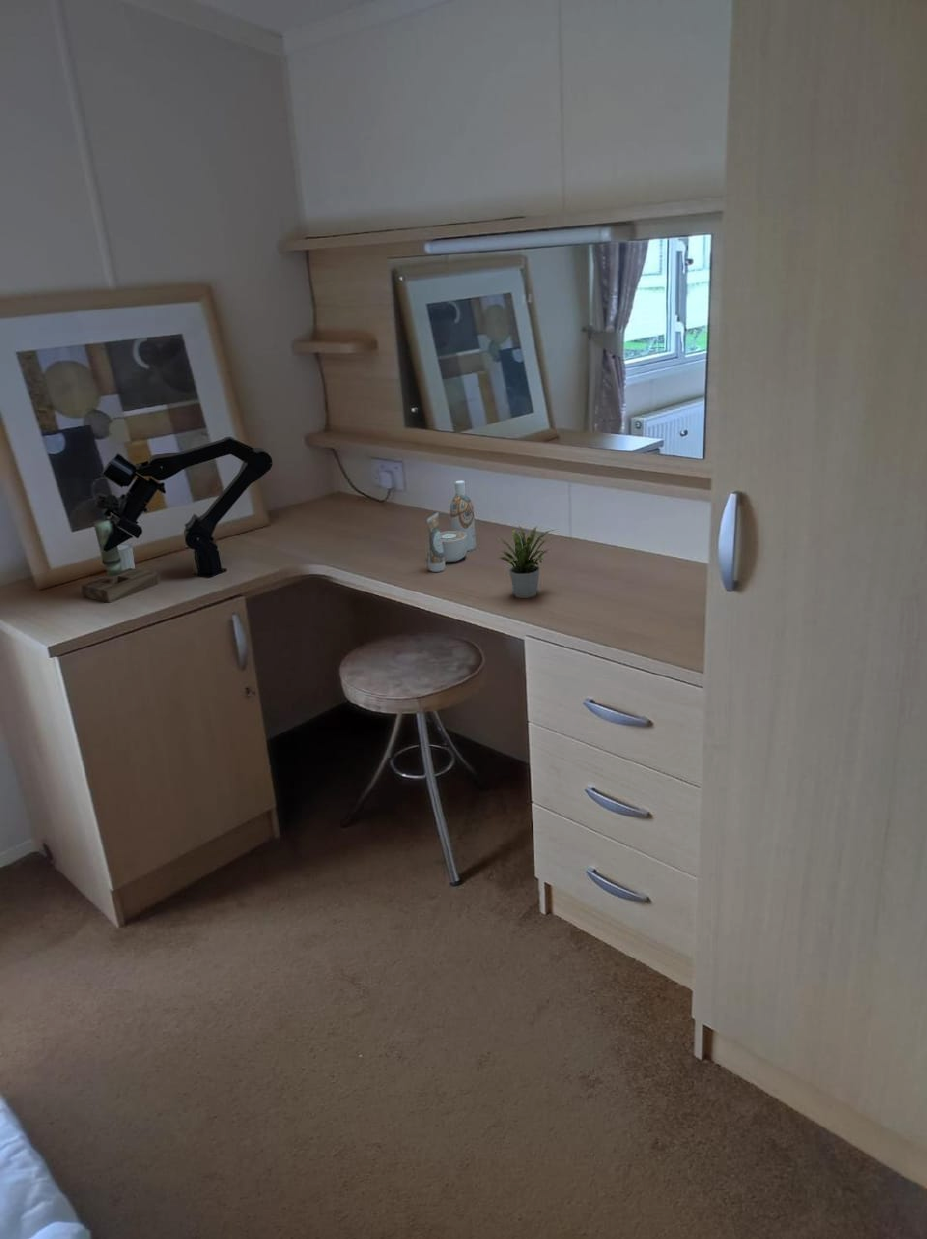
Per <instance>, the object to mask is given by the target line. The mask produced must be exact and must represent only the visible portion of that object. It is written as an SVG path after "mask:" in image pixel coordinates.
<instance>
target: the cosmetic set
mask: <svg viewBox="0 0 927 1239" xmlns="http://www.w3.org/2000/svg"><path fill="white" fill-rule="evenodd" d="M454 490H455V491H454V492H455V495H454V496H453V498H452V500H451V502H450V506H449V516H450V531H449V530H447V531H446V530H445V531H441V530H440V524H439V512H438V511H437V512H436V513H434V514H433V515H431V516H430V517H428V518H427V519H426V522H427V531H428V532H427V568H428V570H429V571H430V572H433V573H439V572H442V571H444V570H445V569H446V563H455V562H458V561H460V560H462V559H463V558H464V557H465V556H466V554H467V552H470V551H474V550H475V549H476V548H477V538H476V536H477V535H476V522H475V521H476V520H475V509H474V508H475V507H474V504H473V502H472V500H471V498H470V497H469V496H468V495H467V492H466V490H467V489H466V482H465V480H456V481H454Z"/></svg>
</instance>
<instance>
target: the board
mask: <svg viewBox="0 0 927 1239" xmlns="http://www.w3.org/2000/svg"><path fill="white" fill-rule="evenodd" d="M121 572H122V573H121V574H118V575H114V576H109V575H106V576H104V577H101V578H97V579H95V580H92V581H90V582H86V583H84V584H82V585H80V587H81V591H82V595H83V597H84V596H85V597H84V598H88V599H93V600H97V601H102V602H104V603H105V602H106V603H112V602H115V601H118V600H121V599H124V598H125V596H126V597H128V596H130V595H133V593H134V594H136V593H138V592H141V591H144V590H146V589H148V588H152V587H154V586H156V585H159V578H158V574H157V572H153V571H148V570H144V569H137V568H135V569H133V568H128V569H126V570H123V571H121ZM120 598H121V599H120Z"/></svg>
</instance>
